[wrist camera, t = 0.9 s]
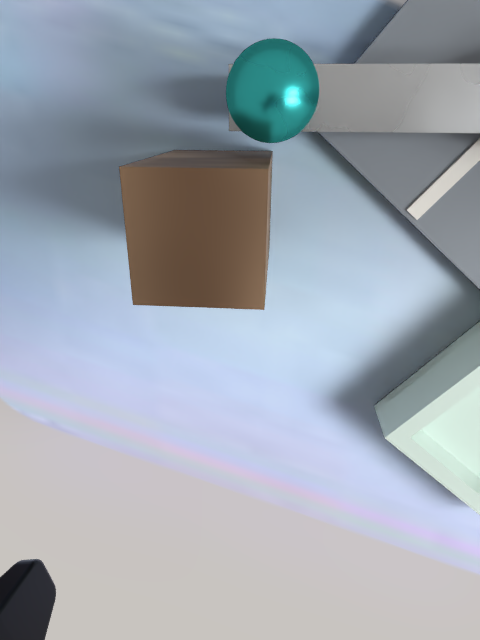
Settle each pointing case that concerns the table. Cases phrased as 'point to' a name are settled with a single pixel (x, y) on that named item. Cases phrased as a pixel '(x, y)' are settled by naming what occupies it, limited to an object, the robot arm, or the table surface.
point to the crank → (346, 95)
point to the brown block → (198, 228)
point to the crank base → (426, 135)
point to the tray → (441, 417)
